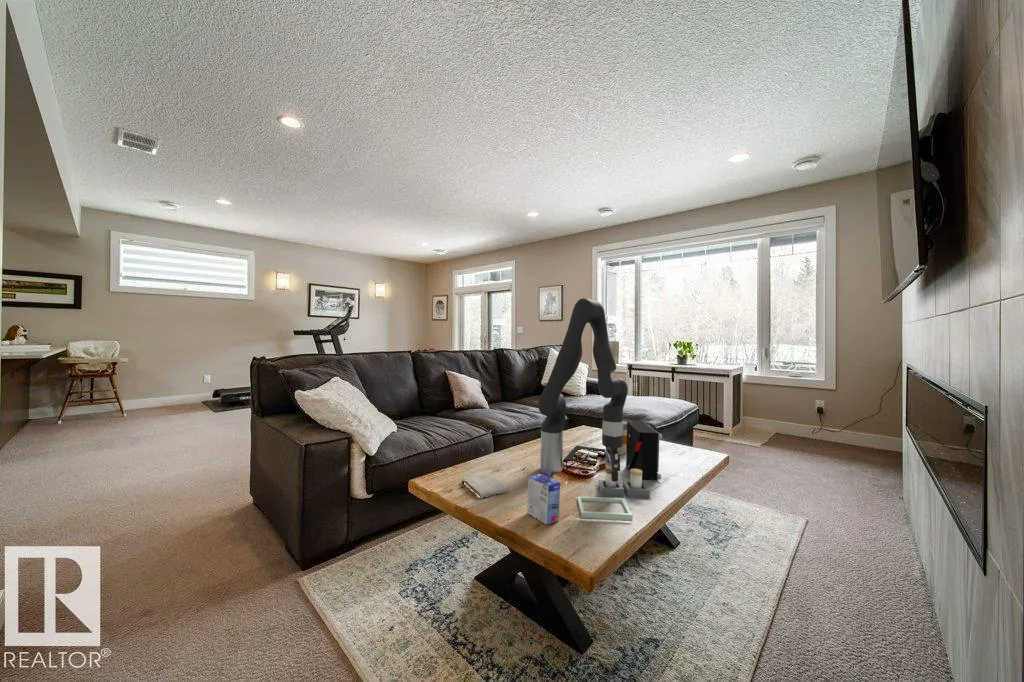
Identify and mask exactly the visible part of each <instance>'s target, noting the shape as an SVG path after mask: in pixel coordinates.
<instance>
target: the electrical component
mask: <svg viewBox="0 0 1024 682" xmlns="http://www.w3.org/2000/svg"><path fill="white" fill-rule="evenodd" d="M662 439H663V434H662V433H659V431H657V430H655V429H654V428H653V427H652V426H651V425H650V424H647V423H646V422H643V421H632V422H627V445H626V454H625V455H626V456H625V468H627V471H629V472H630V469H640V470H642V481H654V482H655V481H656V482H657V483H659V480H661V479H662V474H661V473H660V472H659V470H660V469H659V466H660V464H659V463H660V440H662Z"/></svg>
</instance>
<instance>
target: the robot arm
mask: <svg viewBox="0 0 1024 682" xmlns="http://www.w3.org/2000/svg"><path fill="white" fill-rule="evenodd" d="M604 308H605V307H604V305H603V304H602V303H601V302H600V301H598V300H594V299H590V298H586V297H585V298H580V299H578V300H577V301H576V302H575V304H574V306H573V310H572V312H571V315H570V319H569V323H568V327H567V330H566V333H565V335H564V339H563V342H562V344H561V347H560V348H559V352H558V354H557V357H556V359H555V362H554V365H553V367H552V370H551V373H550V375H549V377H548V380H547V382H546V384H545V386H544V388H543V391H542V392H541V395H540V396H539V398H538V401H537V409H538V411H539V413H540V414H541V415H543V416H545V419H544V420H543V422H541V427H540V461H539V462H540V466H539V469H540V474H542V472H543V470H546V471H548V472H551V475H555V473H560V472H562V471H563V451H564V450H563V445H564V444H563V443H564V439H563V438H564V437H563V436H564V426H565V425H566V415H567V401H566V398H565V396H564V395H563V394H562V392H563V389H564V388H565V386H566V385H567V383H568V382H569V381H570V380H571V379H572V377H573V376H574V375H575V373H576V372H577V370H578V368H579V365H580V363H581V360H582V358H583V343H582V339H583V334H584V333H583V332H584V330H585V328H586V326H587V324H588V323H589V325H590V327H591V329H592V333H593V345H592V355H593V359H594V363H595V367H596V369H597V387H598V392H599V394H600V395H601V396H602V397H603V398H605V399H610V401H609V402H608V403H606V404H604V405H603V407H602V425H601V444H602V446H604V447H605V455H604V457H605V463H607V462H609V464H610V465H611V480H612V481H613V482H617V481H619V472H621V454H619V452H618V450H617V449H618V448H621V447H622V446H623V419H624V417H623V415H624V407H625V403H626V402H627V401H626V400H627V397H628V392H629V391H628V389H629V388H628V384H627V382H626V380H625V379H624V378H621V377H612V376H611V375H612V373H613V372H614V371H616V370H617V363H616V360H615V357H614V354H613V351H612V347H611V344H610V343H611V342H610V340H609V334H608V333H609V332H608V327H607V320H606V319H607V318H606V312H605V309H604ZM614 465H616V466H617V467H614ZM545 474H547V473H545ZM547 475H548V474H547Z"/></svg>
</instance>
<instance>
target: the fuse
mask: <svg viewBox="0 0 1024 682" xmlns="http://www.w3.org/2000/svg"><path fill="white" fill-rule="evenodd" d="M614 467H617V466H616V465H614ZM604 471H605V479H604V480H605V487H614V488H617V482H613V481H612V480H611V465H610V464H609V462H605V470H604Z"/></svg>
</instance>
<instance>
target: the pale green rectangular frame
mask: <svg viewBox="0 0 1024 682" xmlns="http://www.w3.org/2000/svg"><path fill="white" fill-rule="evenodd" d="M576 499H577V504H578V509H579V513H580V519H582V520H597V521H598V520H600V521H601V520H603V521H618V522H619V521H620V522H633V517H634V516H633V513H632V511H631V510H630V507H629V505H628V503H627V502H626V498H606V497H599V496H583V495H582V496H577V497H576ZM582 501H583V502H602V503H620V504H622V506H623V508H624V510H625V512H611V511H610V512H609V511H608V512H606V511H585V509H584V506H583V502H582Z"/></svg>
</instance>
